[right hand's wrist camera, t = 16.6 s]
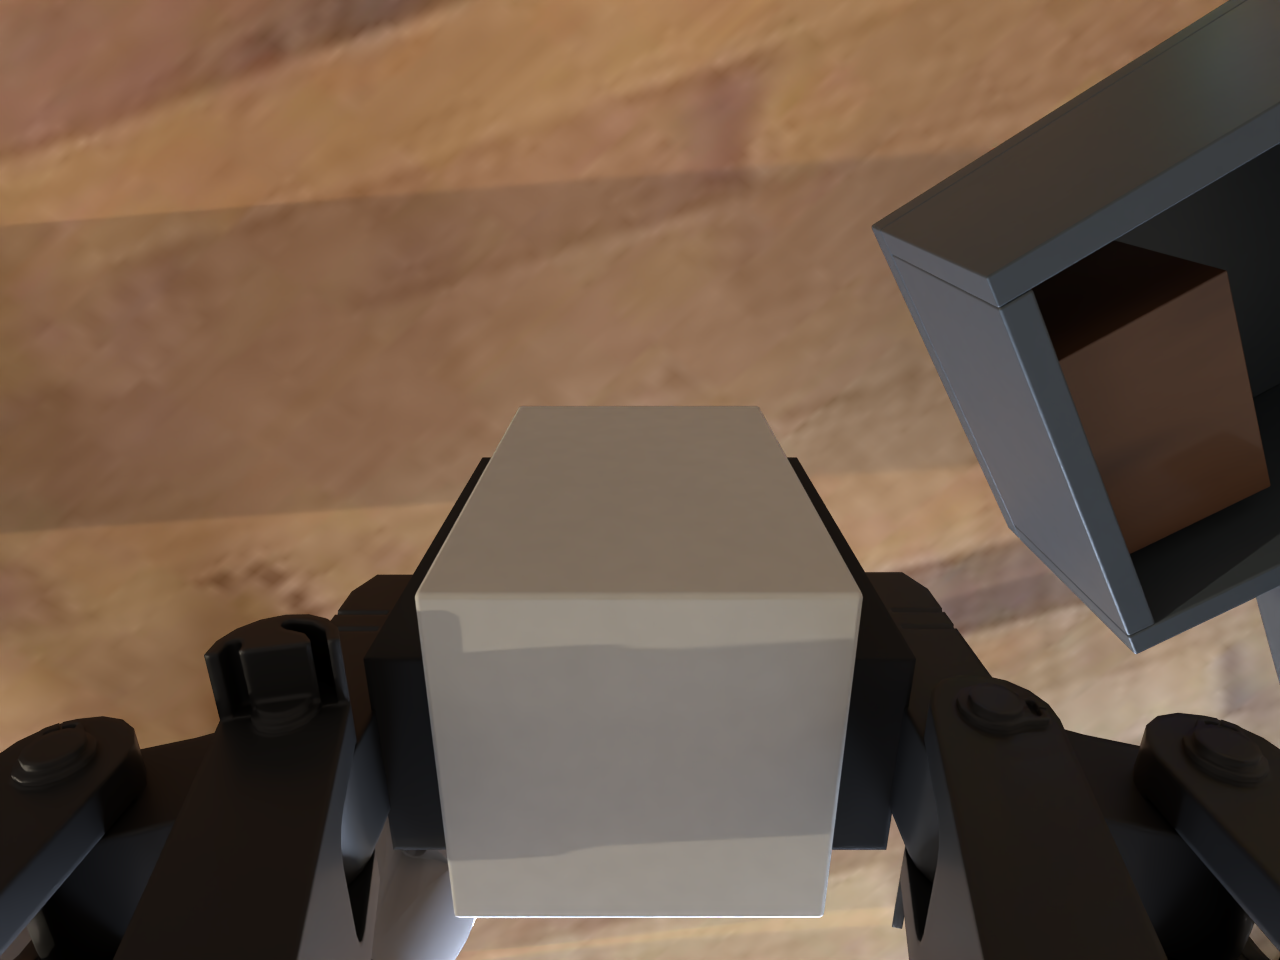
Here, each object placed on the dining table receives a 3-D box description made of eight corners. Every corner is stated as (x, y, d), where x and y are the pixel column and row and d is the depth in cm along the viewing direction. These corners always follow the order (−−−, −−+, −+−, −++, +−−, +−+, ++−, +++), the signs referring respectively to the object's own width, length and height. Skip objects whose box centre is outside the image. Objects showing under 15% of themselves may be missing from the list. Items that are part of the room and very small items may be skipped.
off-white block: (747, 614, 16) (824, 920, 9) (531, 614, 16) (453, 921, 9) (759, 405, 14) (865, 594, 7) (519, 405, 14) (412, 594, 7)
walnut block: (1108, 237, 22) (1160, 423, 25) (965, 318, 23) (1031, 489, 26) (1228, 270, 18) (1271, 486, 21) (1048, 366, 19) (1115, 561, 22)
